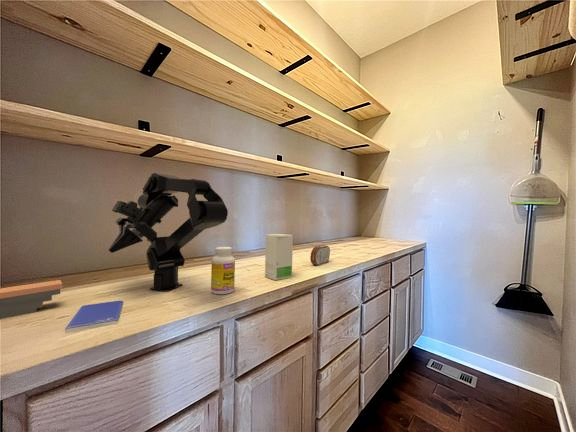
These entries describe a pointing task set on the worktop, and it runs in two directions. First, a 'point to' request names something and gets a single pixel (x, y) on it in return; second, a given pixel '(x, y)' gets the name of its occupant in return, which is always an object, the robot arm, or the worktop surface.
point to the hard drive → (95, 316)
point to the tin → (320, 255)
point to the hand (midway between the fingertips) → (109, 251)
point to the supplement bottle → (223, 271)
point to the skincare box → (278, 256)
